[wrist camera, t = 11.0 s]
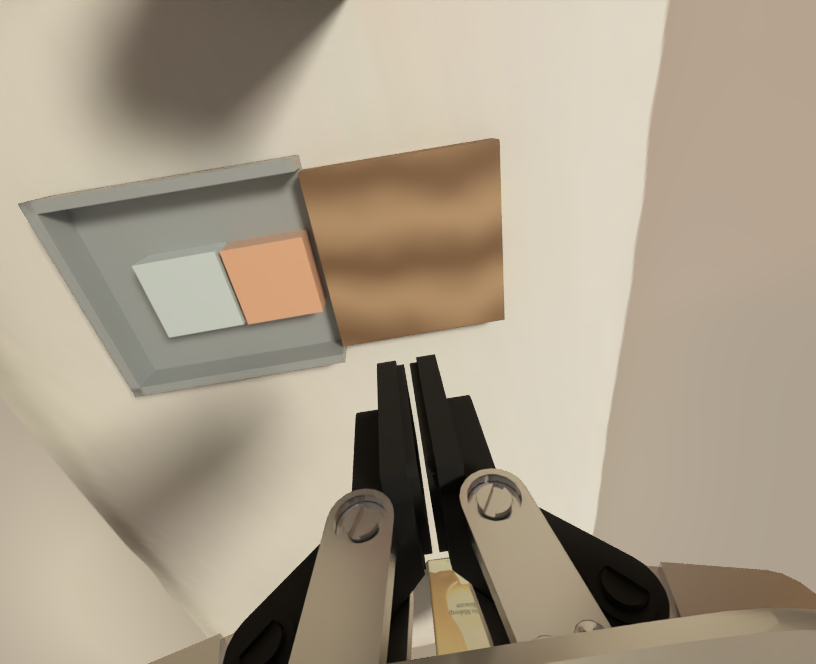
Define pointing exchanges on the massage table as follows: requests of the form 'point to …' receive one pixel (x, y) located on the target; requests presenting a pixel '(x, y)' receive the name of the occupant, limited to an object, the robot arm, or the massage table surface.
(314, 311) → the terracotta tile
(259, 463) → the massage table surface
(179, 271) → the pale blue tile
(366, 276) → the walnut plate
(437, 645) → the skincare box
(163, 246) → the grey tray
